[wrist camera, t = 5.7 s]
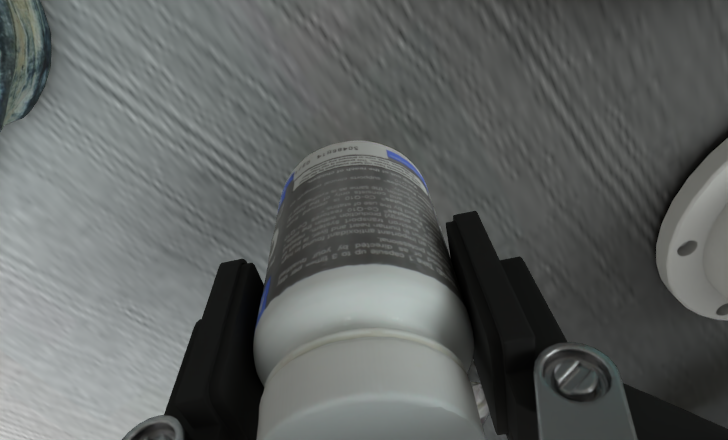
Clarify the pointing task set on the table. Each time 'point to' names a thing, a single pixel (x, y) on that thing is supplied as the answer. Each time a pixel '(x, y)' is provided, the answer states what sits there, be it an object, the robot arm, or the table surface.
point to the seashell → (22, 57)
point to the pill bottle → (362, 308)
